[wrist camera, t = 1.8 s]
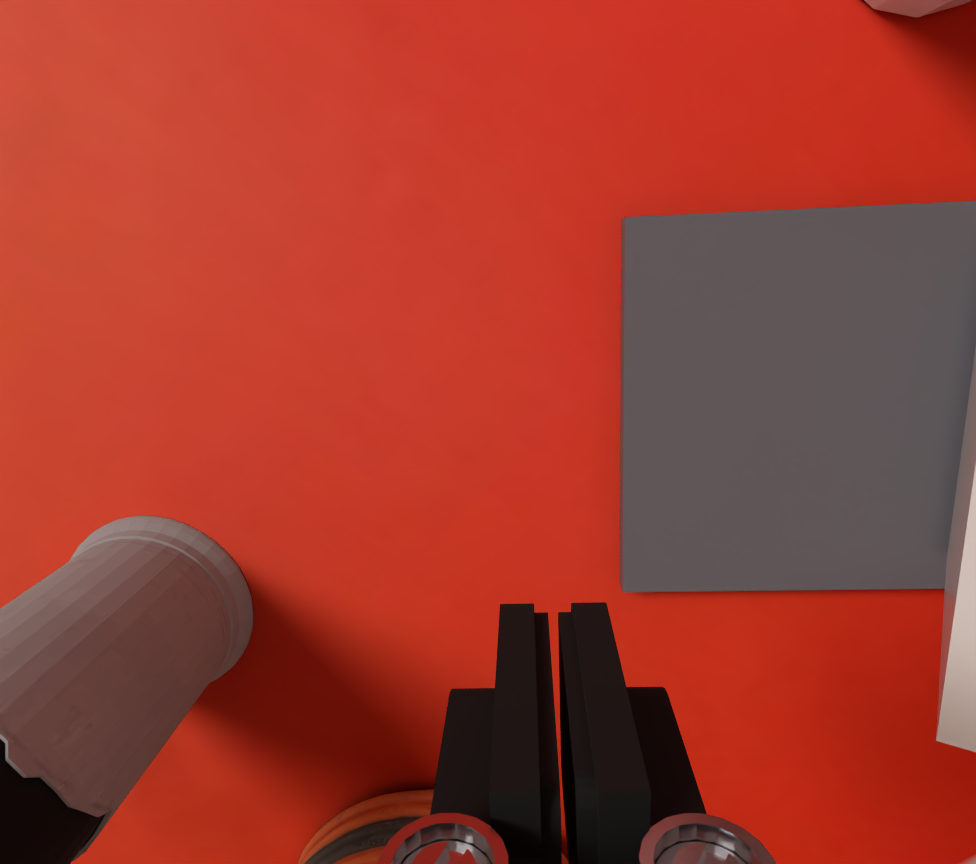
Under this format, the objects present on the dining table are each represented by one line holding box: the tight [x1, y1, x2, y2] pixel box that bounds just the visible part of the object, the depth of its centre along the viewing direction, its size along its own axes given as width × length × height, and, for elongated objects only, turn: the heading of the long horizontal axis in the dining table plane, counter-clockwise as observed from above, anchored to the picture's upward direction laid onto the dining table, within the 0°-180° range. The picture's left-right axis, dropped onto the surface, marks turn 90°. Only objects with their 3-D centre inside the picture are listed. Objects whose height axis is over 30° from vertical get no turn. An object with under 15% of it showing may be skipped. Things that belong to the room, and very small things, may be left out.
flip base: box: [620, 201, 976, 592], centre depth 27 cm, size 26×15×1 cm, turn 92°
